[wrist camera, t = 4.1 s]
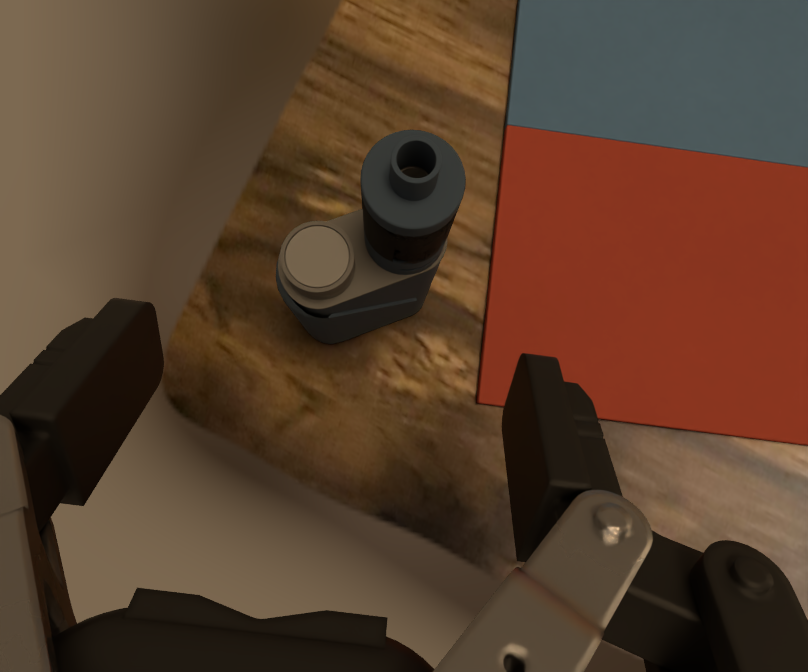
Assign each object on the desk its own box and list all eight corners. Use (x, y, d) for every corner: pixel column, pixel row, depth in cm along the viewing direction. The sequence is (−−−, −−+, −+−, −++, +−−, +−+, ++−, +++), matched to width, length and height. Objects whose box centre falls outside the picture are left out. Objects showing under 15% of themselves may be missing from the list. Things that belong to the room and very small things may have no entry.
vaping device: (435, 310, 23) (496, 195, 11) (315, 354, 23) (250, 283, 11) (413, 253, 24) (449, 85, 12) (294, 296, 23) (208, 166, 11)
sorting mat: (475, 403, 23) (478, 402, 22) (528, -105, 27) (531, -115, 26) (833, 449, 23) (843, 449, 23) (837, -58, 27) (845, -67, 26)
